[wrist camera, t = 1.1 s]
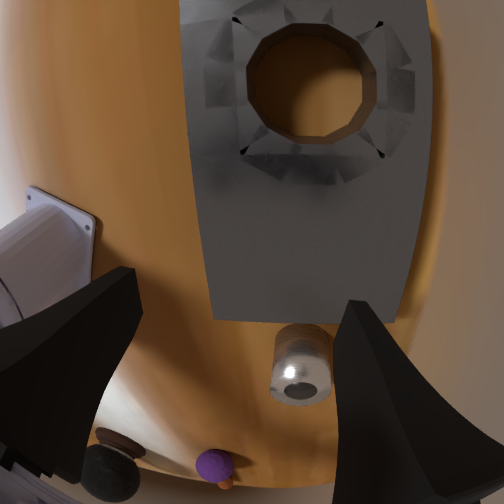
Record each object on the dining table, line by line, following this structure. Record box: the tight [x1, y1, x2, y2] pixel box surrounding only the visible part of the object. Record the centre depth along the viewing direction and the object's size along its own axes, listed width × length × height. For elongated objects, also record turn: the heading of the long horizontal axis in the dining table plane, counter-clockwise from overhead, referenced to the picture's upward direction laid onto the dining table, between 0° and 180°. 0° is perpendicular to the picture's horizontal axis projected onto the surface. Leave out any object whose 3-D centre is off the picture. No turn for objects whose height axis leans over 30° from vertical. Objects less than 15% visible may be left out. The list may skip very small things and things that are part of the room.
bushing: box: [270, 323, 331, 406], centre depth 21 cm, size 4×4×5 cm
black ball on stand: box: [80, 427, 146, 502], centre depth 40 cm, size 13×13×15 cm
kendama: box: [196, 450, 234, 489], centre depth 41 cm, size 6×6×20 cm
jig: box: [179, 0, 433, 324], centre depth 15 cm, size 20×12×3 cm, turn 3°
